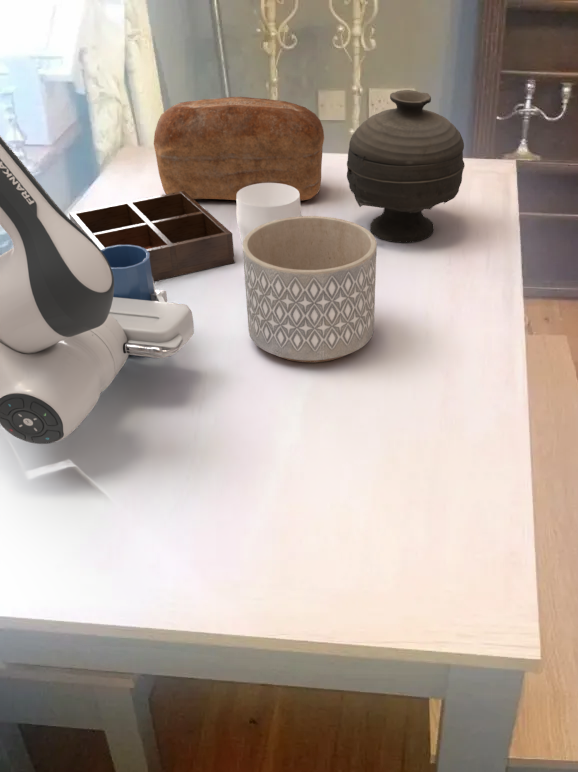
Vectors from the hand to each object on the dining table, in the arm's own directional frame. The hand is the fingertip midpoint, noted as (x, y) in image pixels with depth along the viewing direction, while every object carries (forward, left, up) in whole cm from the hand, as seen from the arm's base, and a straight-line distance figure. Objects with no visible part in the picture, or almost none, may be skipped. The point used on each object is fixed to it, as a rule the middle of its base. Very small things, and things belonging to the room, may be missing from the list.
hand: (129, 292), depth 113 cm
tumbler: (-1, -1, -6) cm, 6 cm away
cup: (+24, +8, -7) cm, 26 cm away
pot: (+50, +14, -7) cm, 52 cm away
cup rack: (+12, +25, -7) cm, 29 cm away
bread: (+34, +40, -7) cm, 53 cm away
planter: (+21, -10, -7) cm, 24 cm away
